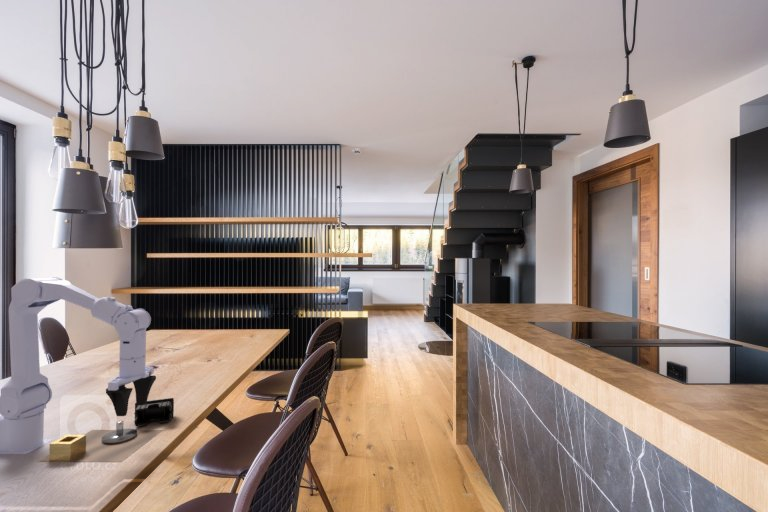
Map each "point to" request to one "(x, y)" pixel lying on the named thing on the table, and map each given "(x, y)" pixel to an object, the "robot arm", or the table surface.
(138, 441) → the board
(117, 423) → the stand
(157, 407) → the end cap
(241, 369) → the table surface
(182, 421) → the table surface
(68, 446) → the collar
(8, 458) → the table surface
